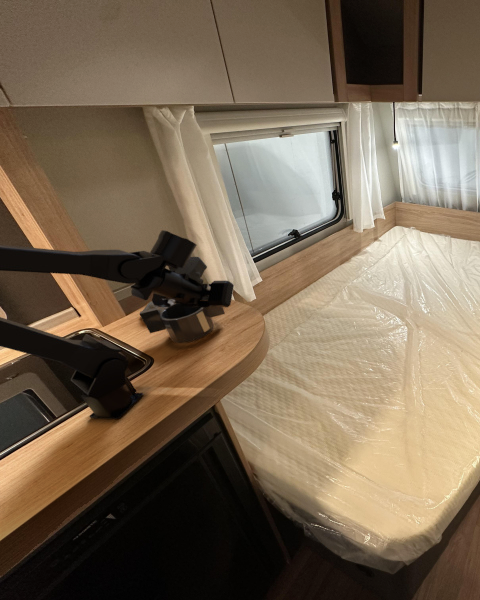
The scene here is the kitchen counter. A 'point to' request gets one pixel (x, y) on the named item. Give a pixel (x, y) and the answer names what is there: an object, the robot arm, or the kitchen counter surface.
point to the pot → (182, 321)
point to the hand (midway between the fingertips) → (215, 302)
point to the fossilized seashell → (151, 306)
